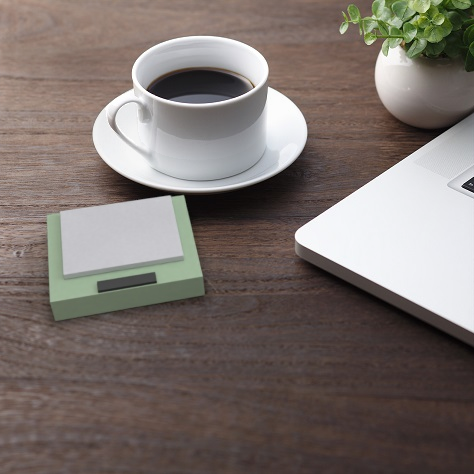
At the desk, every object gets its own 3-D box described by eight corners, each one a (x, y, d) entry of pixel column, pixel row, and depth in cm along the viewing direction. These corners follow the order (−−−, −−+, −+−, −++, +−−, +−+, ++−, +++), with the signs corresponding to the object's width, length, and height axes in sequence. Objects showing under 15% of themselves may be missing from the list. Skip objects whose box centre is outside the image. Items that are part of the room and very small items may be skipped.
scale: (55, 321, 71) (48, 297, 69) (51, 233, 80) (45, 209, 78) (204, 295, 75) (202, 271, 73) (186, 213, 83) (183, 190, 81)
